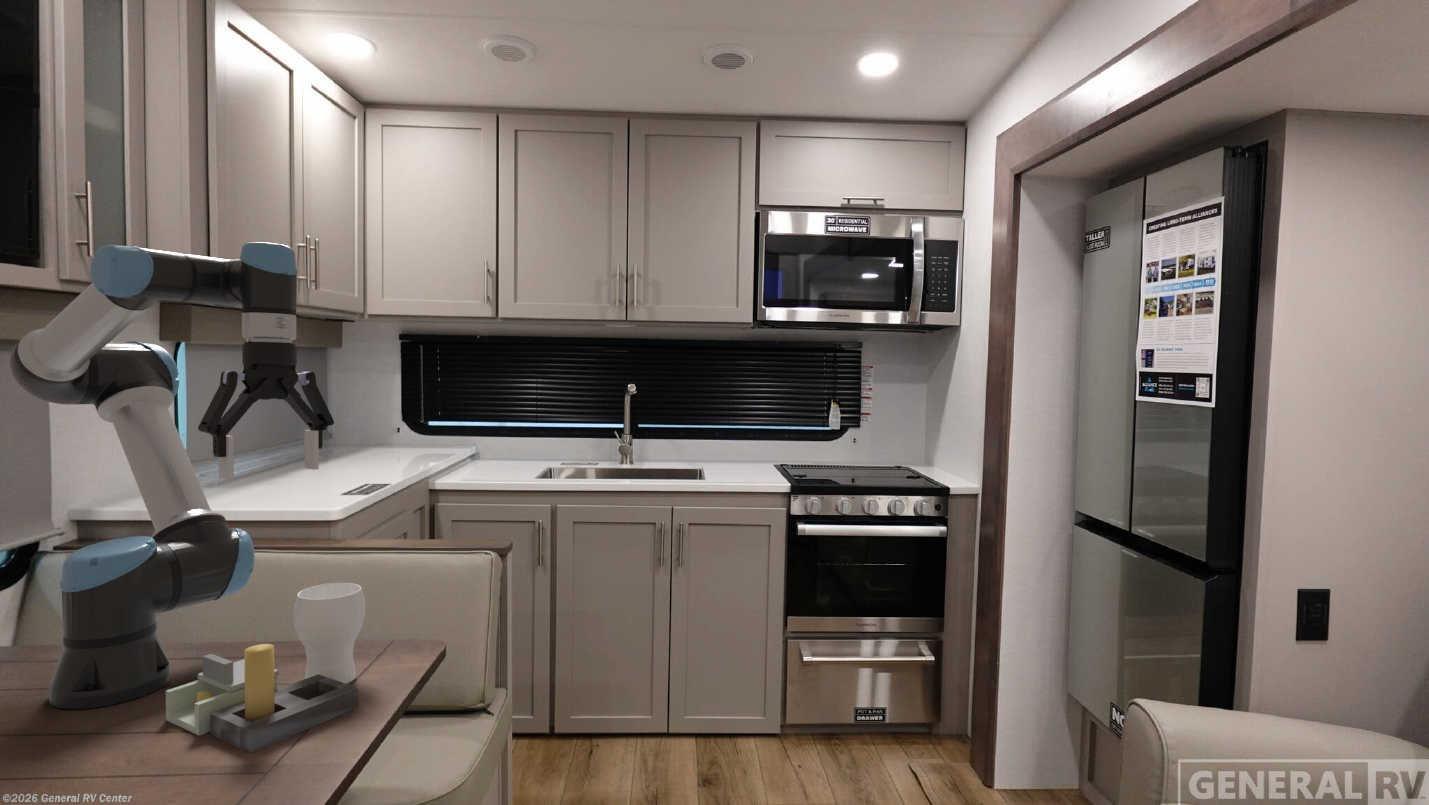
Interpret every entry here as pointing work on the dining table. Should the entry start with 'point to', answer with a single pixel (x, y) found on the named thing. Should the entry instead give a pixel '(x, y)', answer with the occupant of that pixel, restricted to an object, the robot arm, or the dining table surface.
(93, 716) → the dining table surface
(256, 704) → the peg
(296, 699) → the peg board
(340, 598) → the cup
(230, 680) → the lid
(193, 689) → the pale green box tray
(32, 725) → the dining table surface
